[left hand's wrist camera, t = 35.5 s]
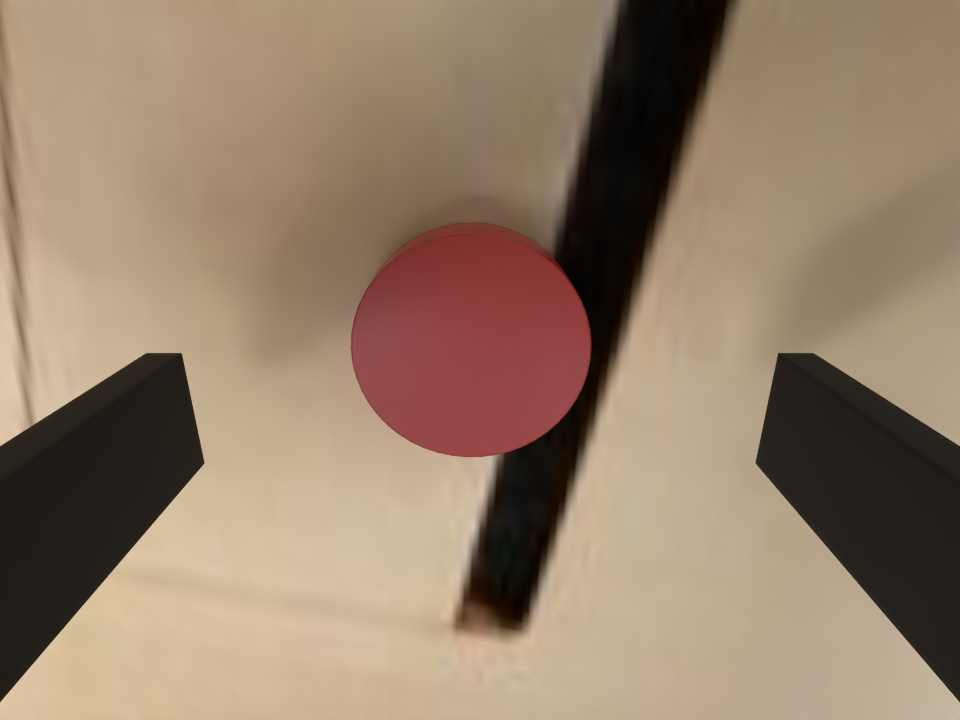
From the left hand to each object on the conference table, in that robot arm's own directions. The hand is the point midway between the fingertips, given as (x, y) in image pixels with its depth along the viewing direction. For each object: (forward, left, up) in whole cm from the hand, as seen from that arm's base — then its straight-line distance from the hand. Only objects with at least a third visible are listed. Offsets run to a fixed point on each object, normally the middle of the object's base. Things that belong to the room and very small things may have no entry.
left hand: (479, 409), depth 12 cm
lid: (+1, 0, -2) cm, 2 cm away
